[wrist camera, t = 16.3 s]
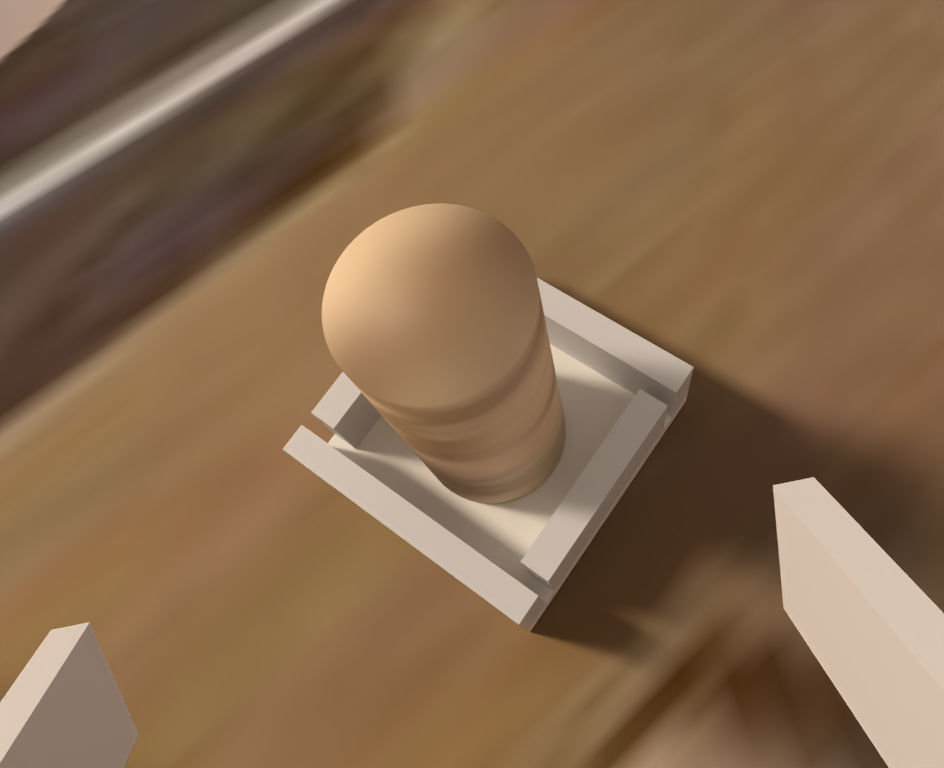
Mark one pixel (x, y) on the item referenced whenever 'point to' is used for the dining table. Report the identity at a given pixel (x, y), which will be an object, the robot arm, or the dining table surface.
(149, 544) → the dining table surface
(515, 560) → the square tray
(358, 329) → the oak rail post
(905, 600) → the robot arm
